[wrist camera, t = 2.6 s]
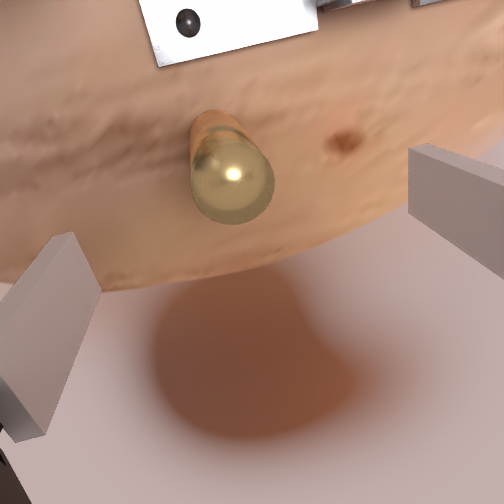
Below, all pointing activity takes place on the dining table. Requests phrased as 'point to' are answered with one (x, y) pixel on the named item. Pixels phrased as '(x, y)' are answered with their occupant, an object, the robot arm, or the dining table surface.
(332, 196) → the dining table surface
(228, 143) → the hinge pin
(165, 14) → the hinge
